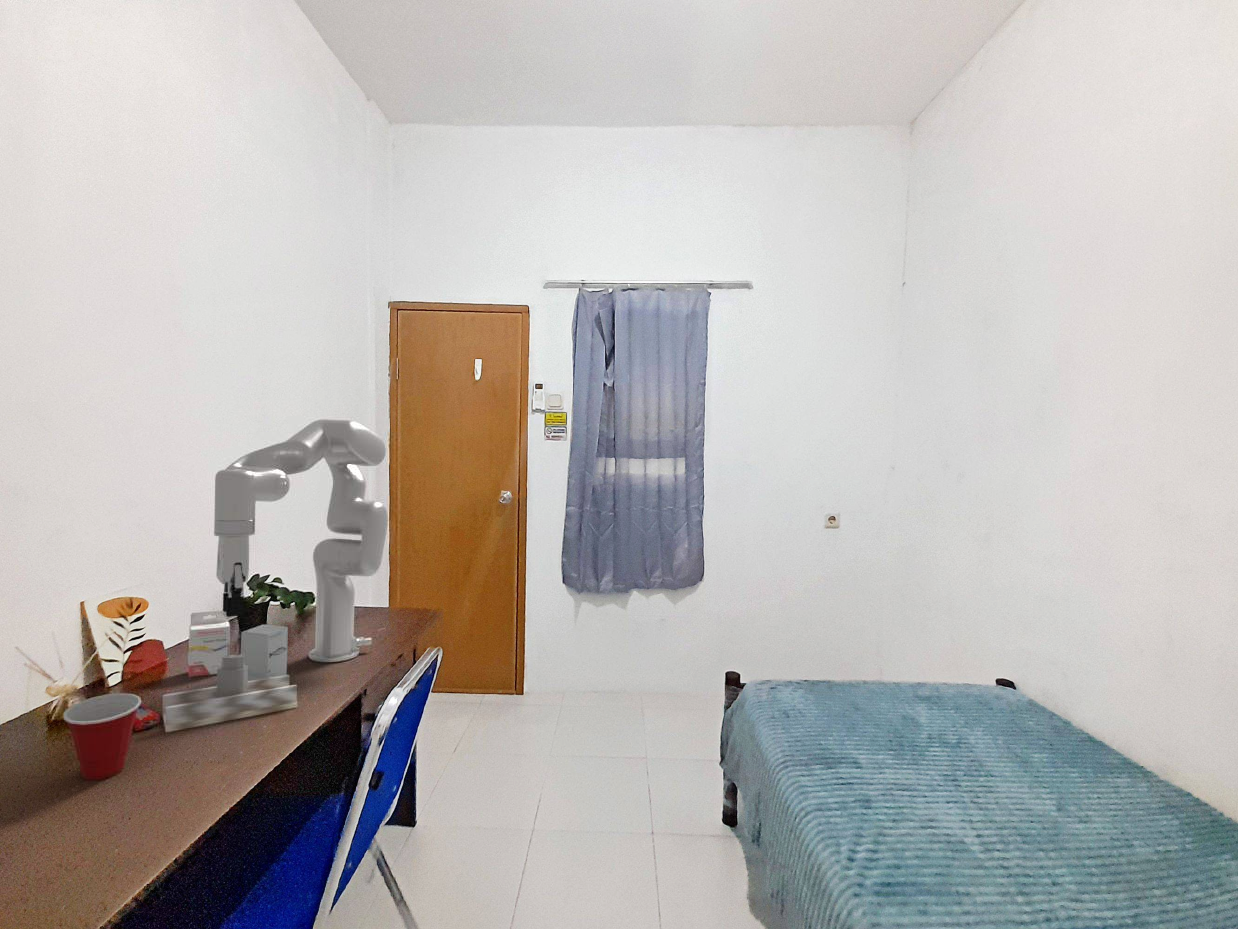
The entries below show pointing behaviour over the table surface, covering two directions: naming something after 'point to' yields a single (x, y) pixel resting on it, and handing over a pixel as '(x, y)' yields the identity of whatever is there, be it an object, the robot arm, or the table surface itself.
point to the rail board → (227, 703)
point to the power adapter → (232, 676)
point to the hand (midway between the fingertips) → (233, 612)
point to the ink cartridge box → (207, 642)
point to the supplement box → (265, 651)
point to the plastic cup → (102, 732)
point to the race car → (145, 718)
